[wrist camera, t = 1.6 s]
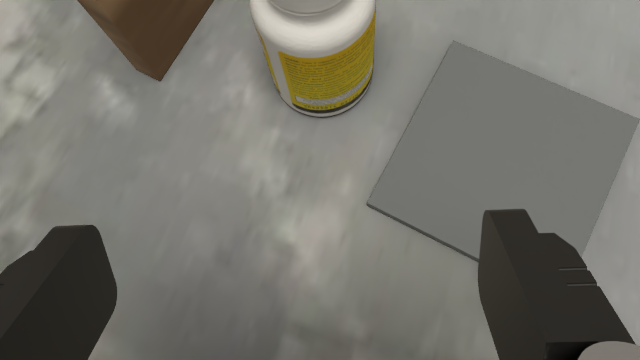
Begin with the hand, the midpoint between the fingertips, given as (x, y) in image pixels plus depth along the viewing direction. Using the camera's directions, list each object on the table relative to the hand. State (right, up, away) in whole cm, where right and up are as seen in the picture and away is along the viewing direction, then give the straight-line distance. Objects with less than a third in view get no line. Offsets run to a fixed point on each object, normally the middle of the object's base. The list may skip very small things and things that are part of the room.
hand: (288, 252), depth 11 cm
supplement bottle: (+1, +7, +18) cm, 20 cm away
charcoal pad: (+10, +2, +16) cm, 19 cm away
